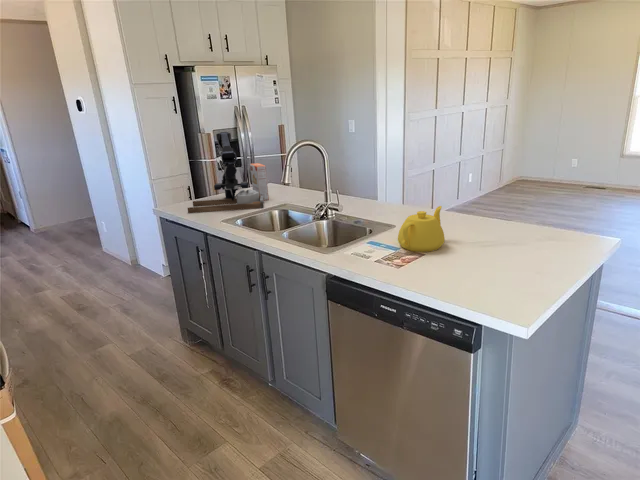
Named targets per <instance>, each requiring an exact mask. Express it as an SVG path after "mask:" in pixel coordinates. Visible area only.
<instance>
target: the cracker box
mask: <svg viewBox="0 0 640 480" xmlns="http://www.w3.org/2000/svg"><path fill="white" fill-rule="evenodd" d="M249 168H250V176H251V177H250V179H251V184H252V185H251V187H252V190H255V191H256V192H259V196H261V195H263V197H264V202H265V201H269V198H270V197H269V189H268V188H269V187H268V177H267V176H268V175H267V166H266V165H264V164H262V163H259V162H258V163H256V162H255V163H250V164H249Z"/></svg>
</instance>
